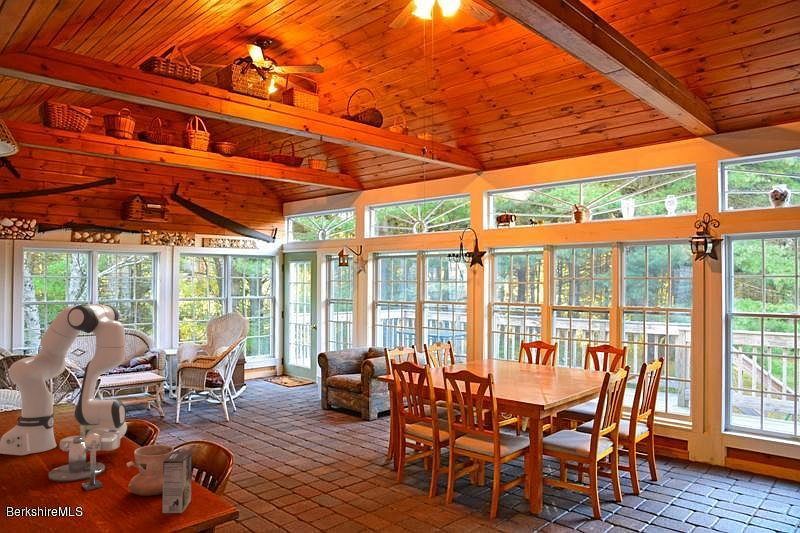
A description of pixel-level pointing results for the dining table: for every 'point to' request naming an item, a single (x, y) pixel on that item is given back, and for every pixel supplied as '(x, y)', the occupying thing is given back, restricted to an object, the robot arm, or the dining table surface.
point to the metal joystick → (92, 460)
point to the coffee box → (176, 482)
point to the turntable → (74, 473)
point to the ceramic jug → (149, 469)
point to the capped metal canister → (77, 455)
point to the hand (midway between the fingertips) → (77, 449)
